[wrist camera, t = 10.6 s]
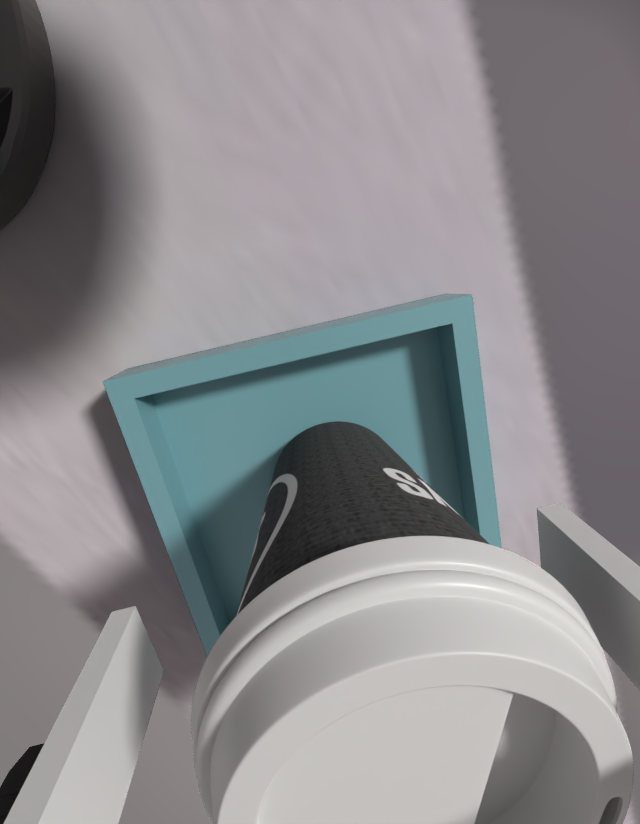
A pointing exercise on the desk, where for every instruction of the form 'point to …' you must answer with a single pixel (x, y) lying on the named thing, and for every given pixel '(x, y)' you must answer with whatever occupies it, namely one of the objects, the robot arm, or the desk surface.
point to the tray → (300, 429)
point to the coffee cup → (400, 665)
